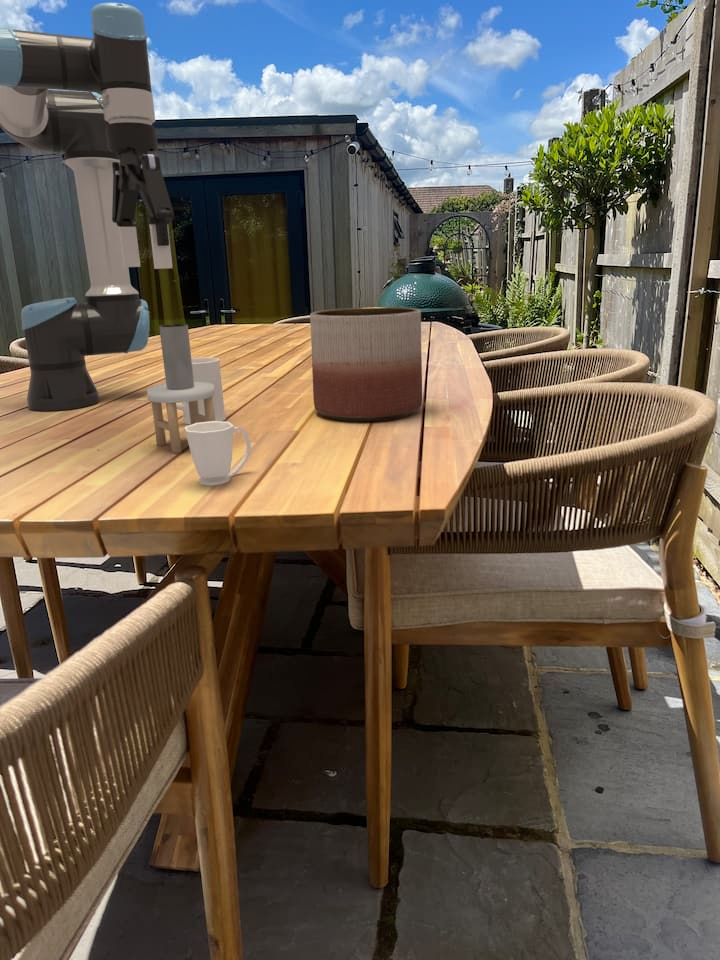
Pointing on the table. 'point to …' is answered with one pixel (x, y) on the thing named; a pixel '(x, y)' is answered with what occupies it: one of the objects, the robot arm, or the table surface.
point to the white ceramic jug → (207, 373)
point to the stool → (171, 398)
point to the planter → (366, 362)
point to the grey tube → (176, 356)
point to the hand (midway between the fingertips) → (147, 267)
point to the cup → (214, 450)
